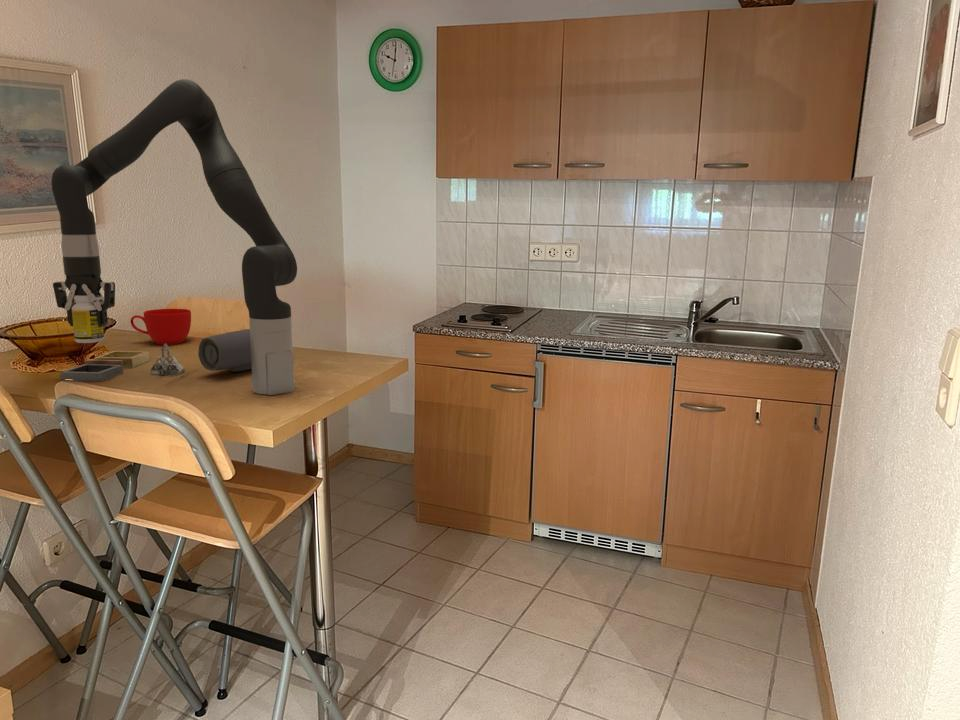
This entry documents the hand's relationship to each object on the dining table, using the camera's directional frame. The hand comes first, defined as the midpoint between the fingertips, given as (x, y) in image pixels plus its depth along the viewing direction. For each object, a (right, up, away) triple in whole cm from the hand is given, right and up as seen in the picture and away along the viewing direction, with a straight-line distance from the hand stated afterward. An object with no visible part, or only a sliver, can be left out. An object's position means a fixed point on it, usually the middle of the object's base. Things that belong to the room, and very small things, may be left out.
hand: (88, 325), depth 170 cm
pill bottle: (0, -4, +1) cm, 4 cm away
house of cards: (+15, -12, +6) cm, 20 cm away
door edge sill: (-1, -11, +10) cm, 15 cm away
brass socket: (0, -9, +17) cm, 20 cm away
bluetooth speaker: (+33, -10, +15) cm, 38 cm away
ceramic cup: (-2, -4, +45) cm, 45 cm away
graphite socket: (0, -12, +3) cm, 12 cm away
